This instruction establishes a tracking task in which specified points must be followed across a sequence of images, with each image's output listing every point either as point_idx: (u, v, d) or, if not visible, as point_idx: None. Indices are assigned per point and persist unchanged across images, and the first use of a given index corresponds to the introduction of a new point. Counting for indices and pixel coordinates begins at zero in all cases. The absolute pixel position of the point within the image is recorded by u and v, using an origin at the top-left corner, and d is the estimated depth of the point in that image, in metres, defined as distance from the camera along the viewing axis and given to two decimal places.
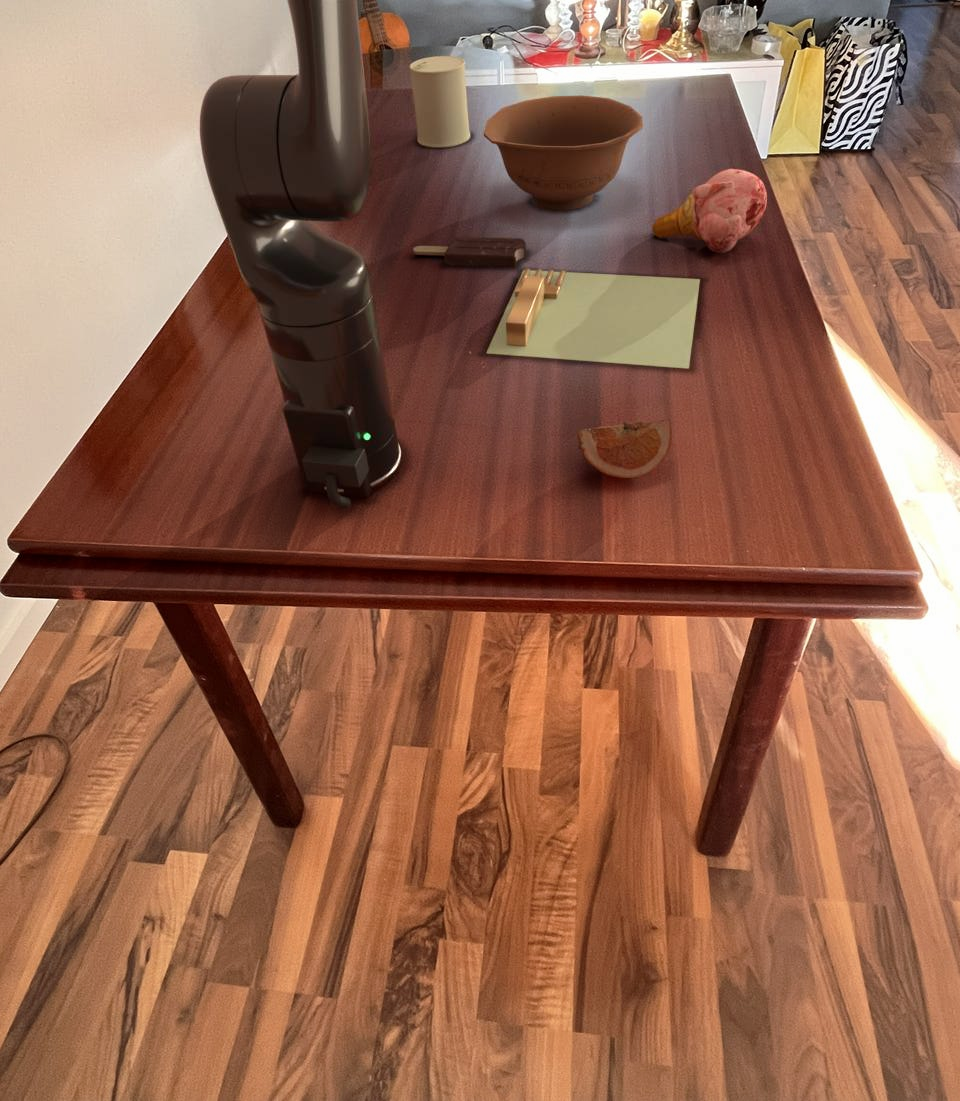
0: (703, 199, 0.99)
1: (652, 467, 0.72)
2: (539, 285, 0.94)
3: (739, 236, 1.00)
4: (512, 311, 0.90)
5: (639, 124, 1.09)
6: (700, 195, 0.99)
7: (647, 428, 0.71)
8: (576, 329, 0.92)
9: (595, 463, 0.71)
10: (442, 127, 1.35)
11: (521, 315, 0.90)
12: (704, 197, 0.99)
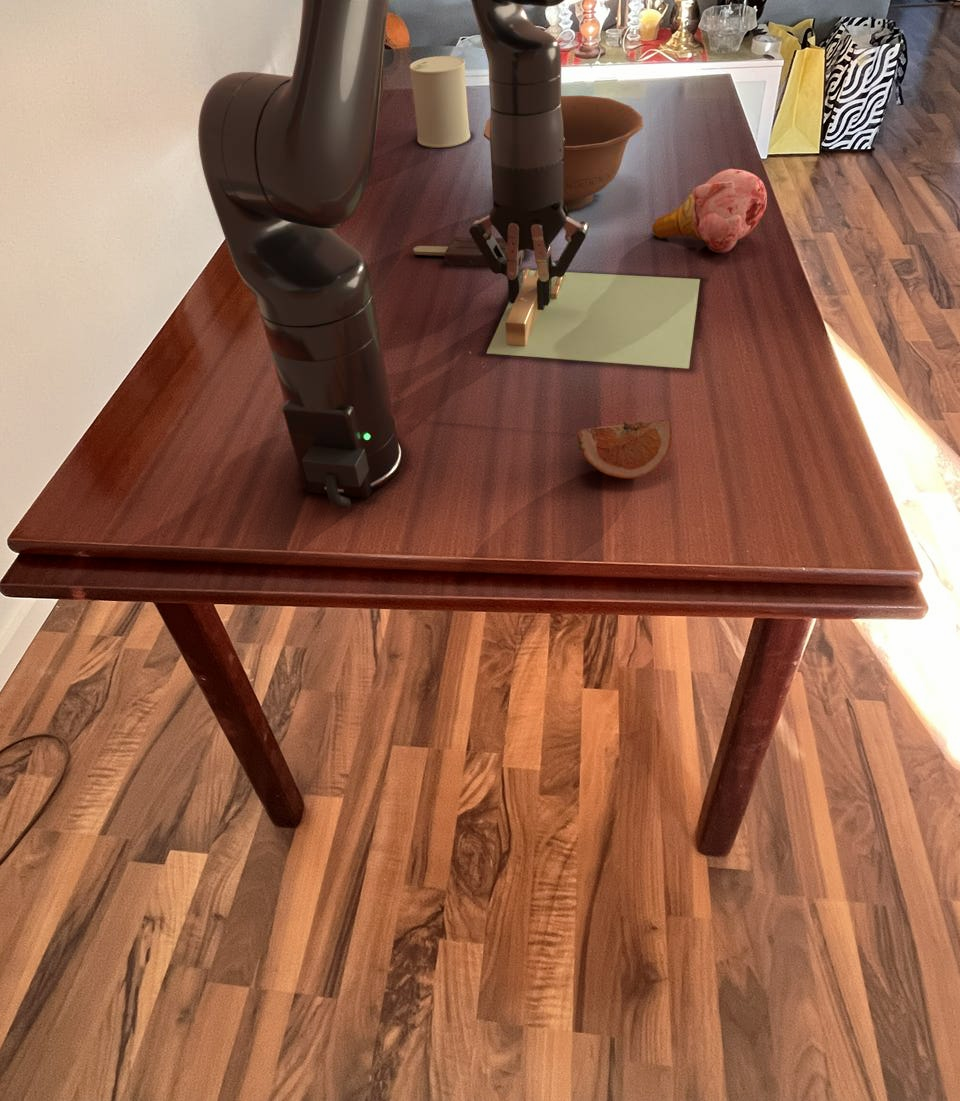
0: (703, 199, 0.99)
1: (652, 467, 0.72)
2: None
3: (739, 236, 1.00)
4: (512, 311, 0.90)
5: (639, 124, 1.09)
6: (700, 195, 0.99)
7: (647, 428, 0.71)
8: (576, 329, 0.92)
9: (595, 463, 0.71)
10: (442, 127, 1.35)
11: (521, 315, 0.90)
12: (704, 197, 0.99)
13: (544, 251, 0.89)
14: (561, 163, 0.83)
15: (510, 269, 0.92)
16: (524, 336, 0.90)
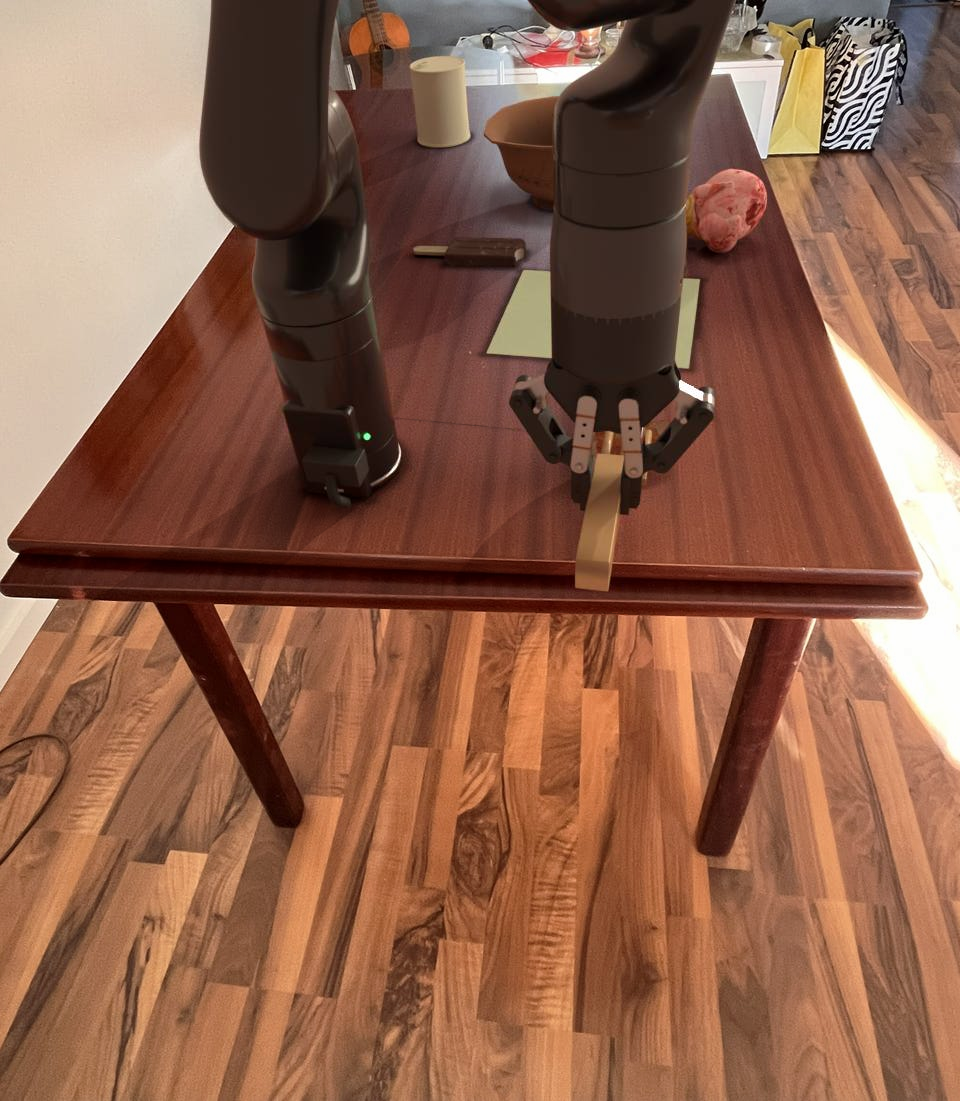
0: (703, 199, 0.99)
1: None
2: None
3: (739, 236, 1.00)
4: (583, 533, 0.53)
5: None
6: (700, 195, 0.99)
7: (647, 428, 0.71)
8: None
9: None
10: (442, 127, 1.35)
11: (600, 543, 0.53)
12: (704, 197, 0.99)
13: (639, 437, 0.52)
14: (679, 302, 0.46)
15: (577, 459, 0.55)
16: (607, 579, 0.53)
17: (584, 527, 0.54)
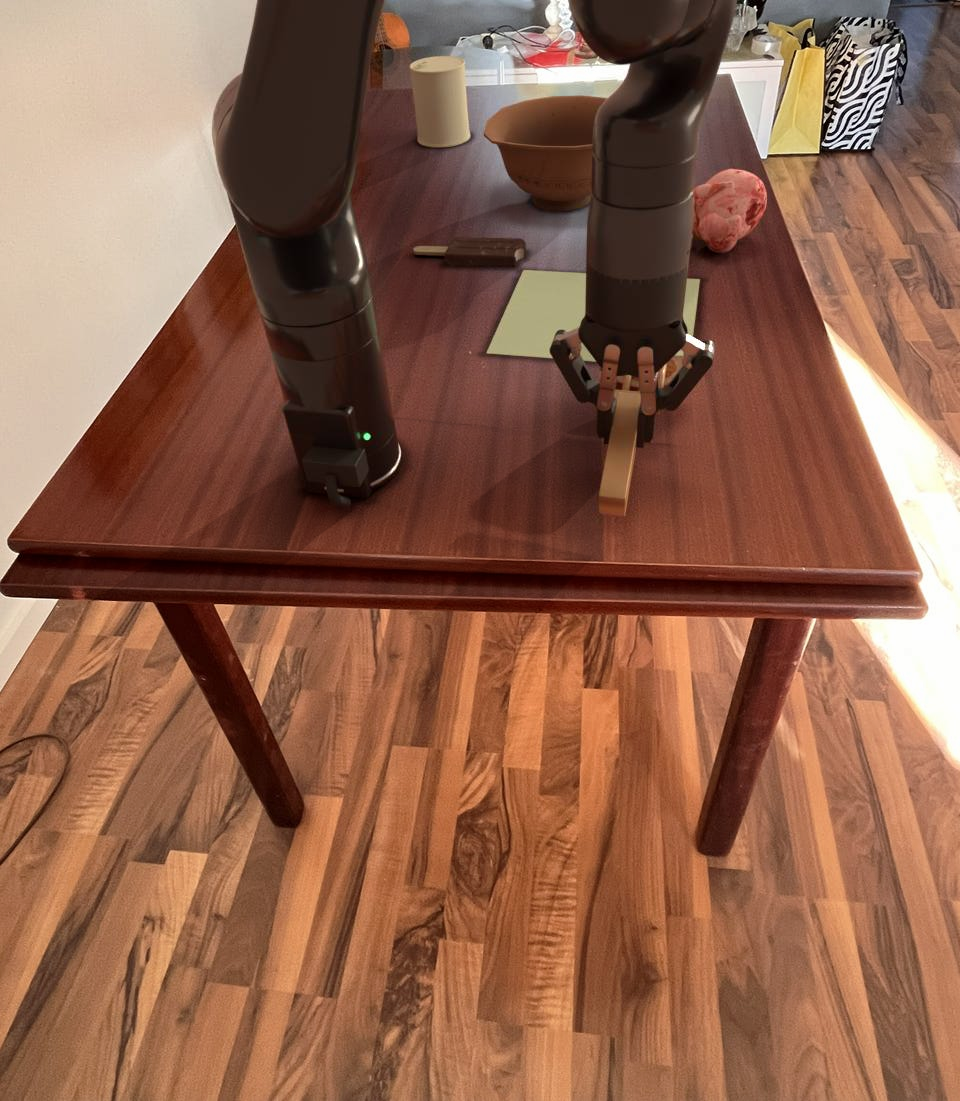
0: (703, 199, 0.99)
1: None
2: None
3: (739, 236, 1.00)
4: (605, 471, 0.67)
5: None
6: (700, 195, 0.99)
7: None
8: None
9: None
10: (442, 127, 1.35)
11: (618, 480, 0.67)
12: (704, 197, 0.99)
13: (653, 380, 0.65)
14: (687, 269, 0.59)
15: (602, 398, 0.68)
16: (623, 508, 0.67)
17: (606, 466, 0.68)
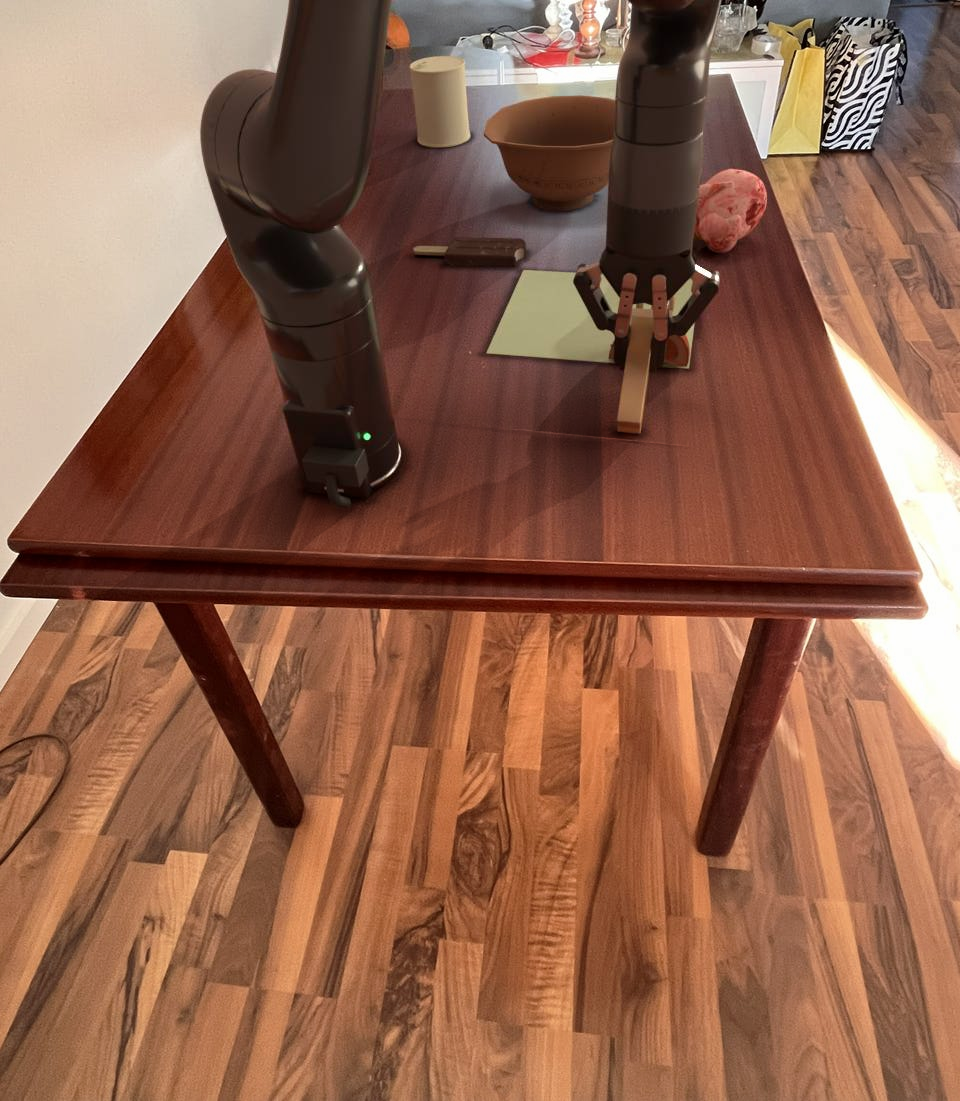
0: (703, 199, 0.99)
1: None
2: (651, 337, 0.77)
3: (739, 236, 1.00)
4: (622, 397, 0.76)
5: None
6: (700, 195, 0.99)
7: None
8: (576, 329, 0.92)
9: None
10: (442, 127, 1.35)
11: (634, 405, 0.76)
12: (704, 197, 0.99)
13: (665, 306, 0.73)
14: (697, 202, 0.67)
15: (620, 326, 0.76)
16: (639, 429, 0.77)
17: (623, 391, 0.76)
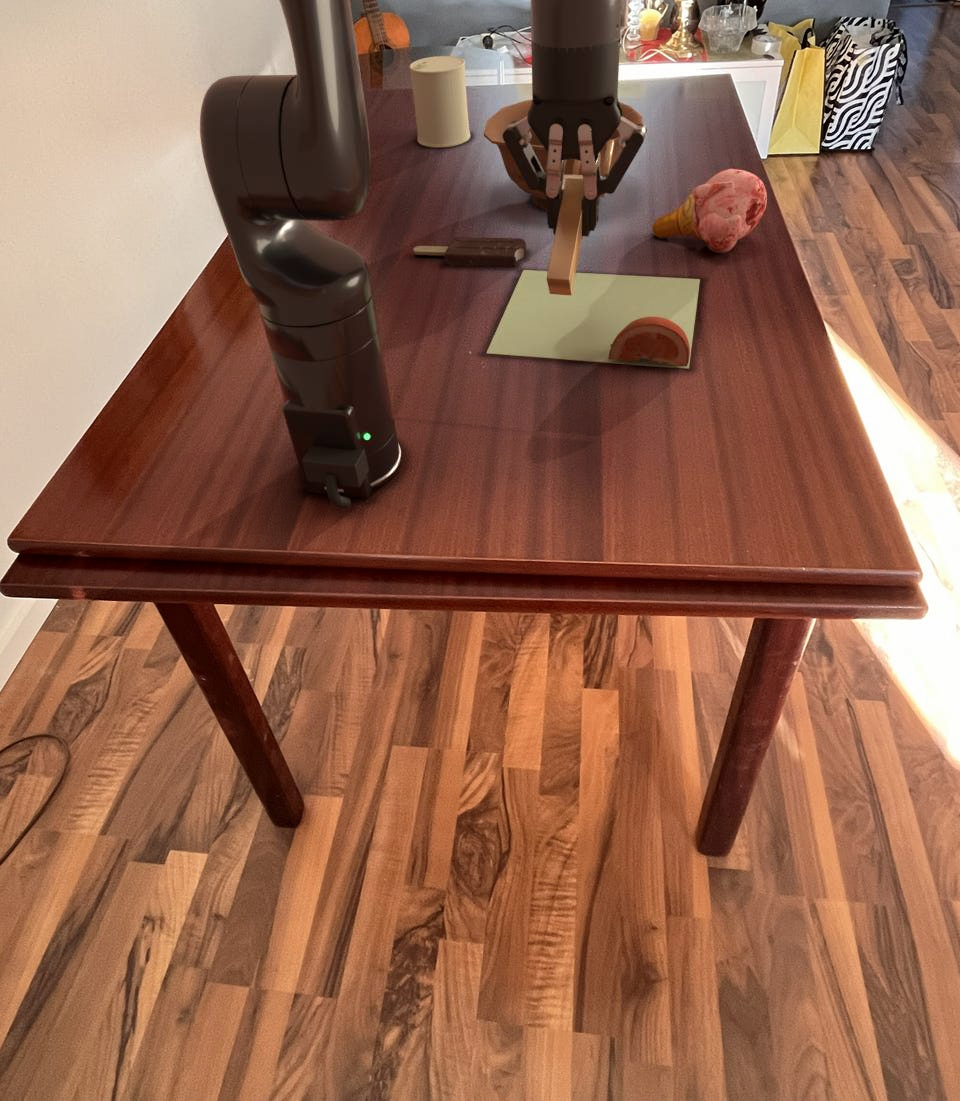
0: (703, 199, 0.99)
1: None
2: None
3: (739, 236, 1.00)
4: (552, 255, 0.77)
5: None
6: (700, 195, 0.99)
7: None
8: (576, 329, 0.92)
9: None
10: (442, 127, 1.35)
11: (563, 263, 0.77)
12: (704, 197, 0.99)
13: (592, 160, 0.74)
14: (618, 44, 0.68)
15: (550, 184, 0.77)
16: (569, 288, 0.78)
17: (553, 250, 0.77)
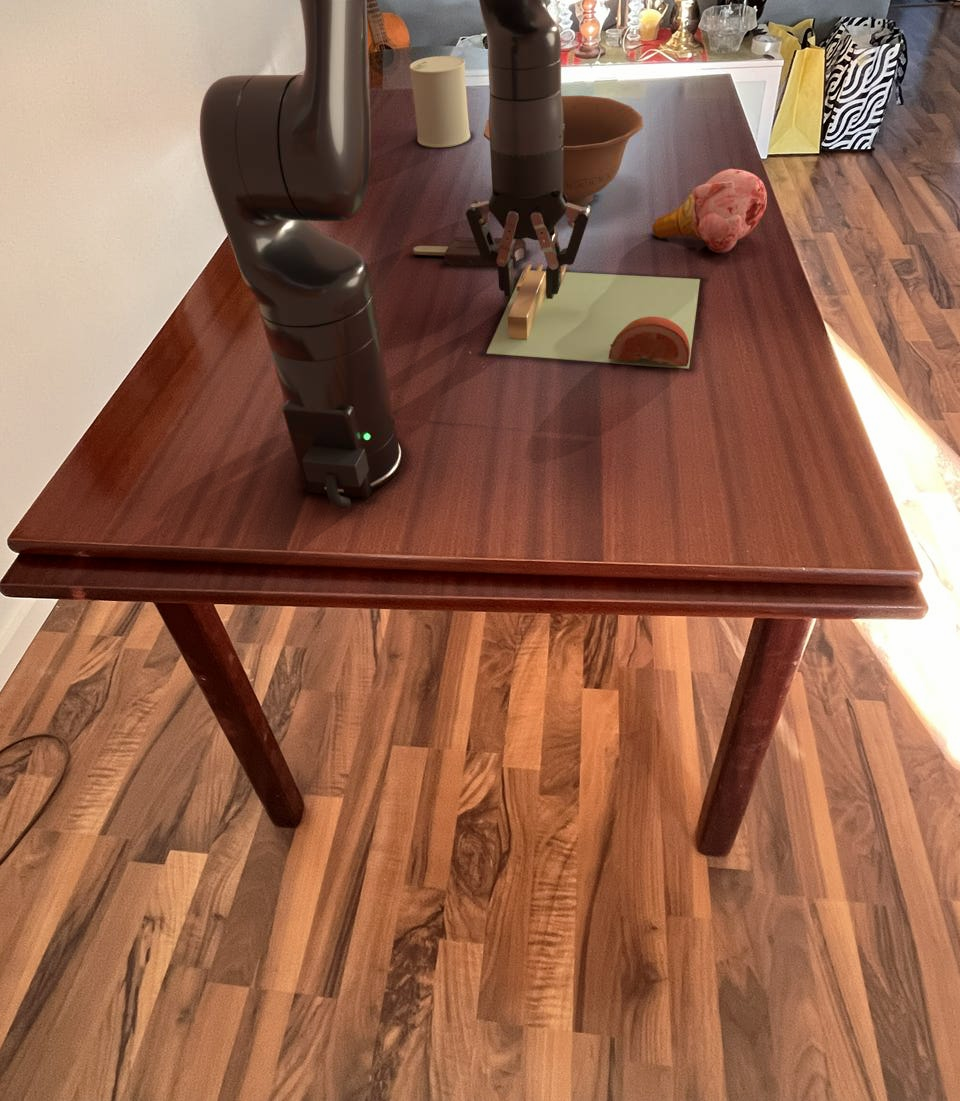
0: (703, 199, 0.99)
1: None
2: (540, 280, 0.95)
3: (739, 236, 1.00)
4: (514, 305, 0.91)
5: (639, 124, 1.09)
6: (700, 195, 0.99)
7: None
8: (576, 329, 0.92)
9: None
10: (442, 127, 1.35)
11: (523, 309, 0.91)
12: (704, 197, 0.99)
13: (548, 238, 0.88)
14: (561, 150, 0.82)
15: (500, 256, 0.91)
16: (526, 330, 0.90)
17: (515, 302, 0.92)
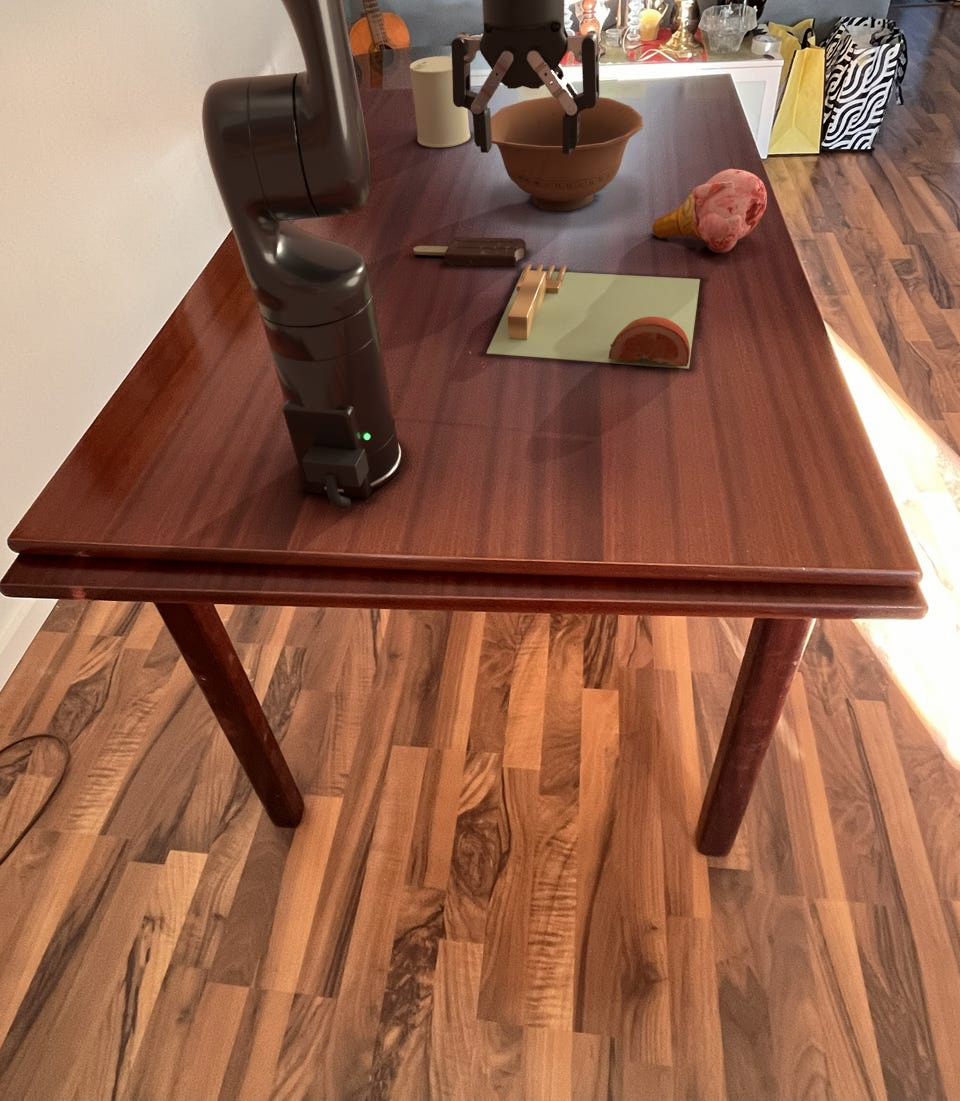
0: (703, 199, 0.99)
1: None
2: (540, 280, 0.95)
3: (739, 236, 1.00)
4: (514, 305, 0.91)
5: (639, 124, 1.09)
6: (700, 195, 0.99)
7: None
8: (576, 329, 0.92)
9: None
10: (442, 127, 1.35)
11: (523, 309, 0.91)
12: (704, 197, 0.99)
13: (555, 77, 0.76)
14: None
15: (475, 100, 0.80)
16: (526, 330, 0.90)
17: (515, 302, 0.92)
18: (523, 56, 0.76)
